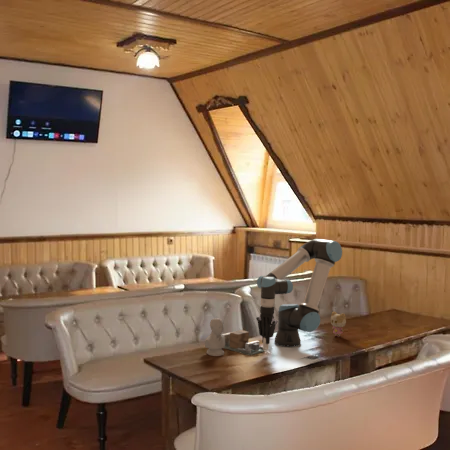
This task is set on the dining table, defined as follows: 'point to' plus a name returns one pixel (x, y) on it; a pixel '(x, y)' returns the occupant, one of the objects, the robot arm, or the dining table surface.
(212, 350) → the figurine
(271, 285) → the robot arm
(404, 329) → the dining table surface
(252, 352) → the vise
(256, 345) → the slide jaw
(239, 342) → the block
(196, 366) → the dining table surface
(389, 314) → the dining table surface
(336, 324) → the toy
